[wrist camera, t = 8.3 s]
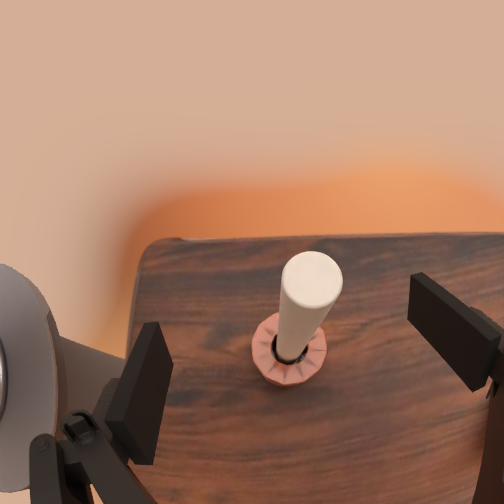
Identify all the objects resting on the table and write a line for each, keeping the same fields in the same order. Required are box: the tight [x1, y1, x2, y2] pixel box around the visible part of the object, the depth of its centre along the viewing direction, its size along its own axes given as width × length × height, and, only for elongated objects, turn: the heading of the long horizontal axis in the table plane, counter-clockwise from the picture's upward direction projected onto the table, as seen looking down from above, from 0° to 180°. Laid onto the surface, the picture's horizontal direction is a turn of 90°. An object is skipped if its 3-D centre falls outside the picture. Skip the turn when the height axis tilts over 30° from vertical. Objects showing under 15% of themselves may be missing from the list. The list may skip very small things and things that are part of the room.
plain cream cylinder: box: [276, 251, 343, 365], centre depth 16 cm, size 2×2×18 cm
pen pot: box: [251, 312, 328, 387], centre depth 21 cm, size 5×5×7 cm
